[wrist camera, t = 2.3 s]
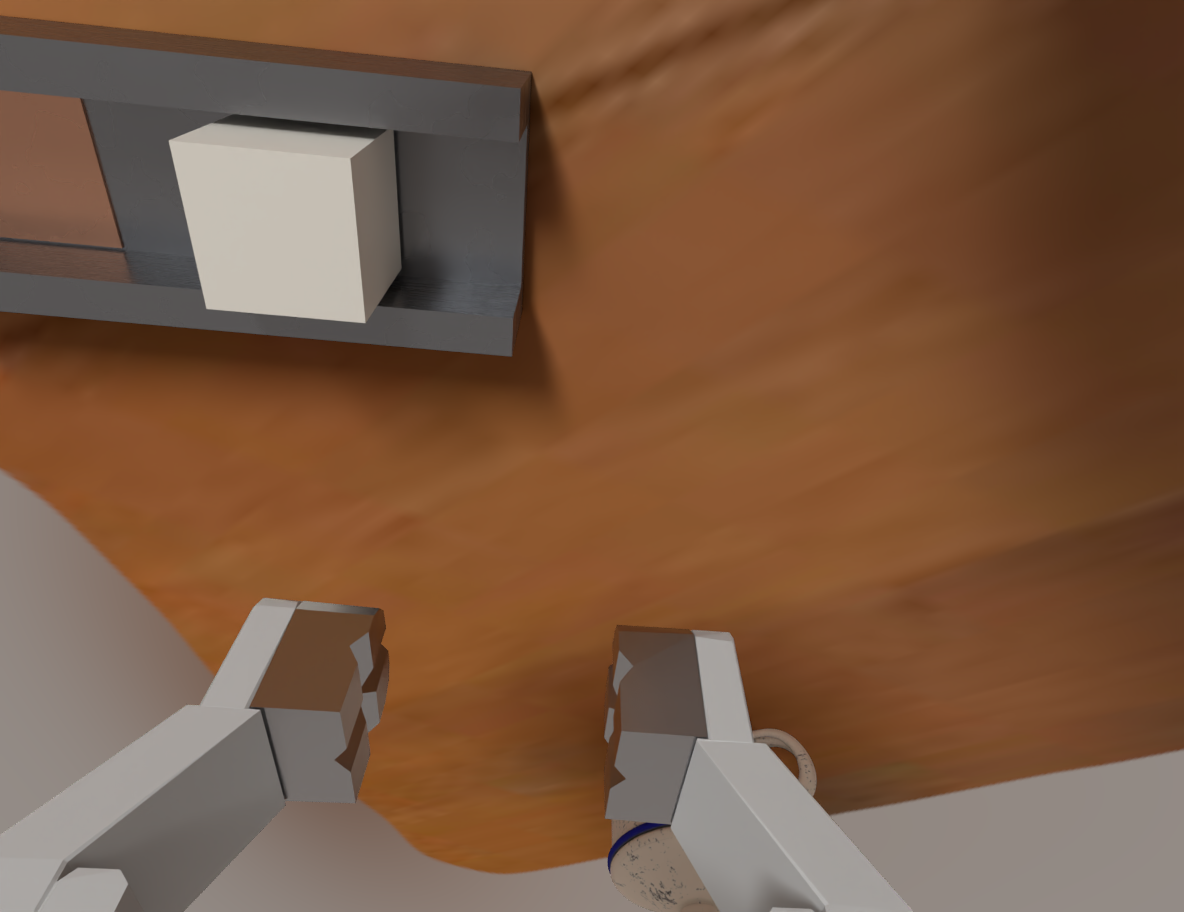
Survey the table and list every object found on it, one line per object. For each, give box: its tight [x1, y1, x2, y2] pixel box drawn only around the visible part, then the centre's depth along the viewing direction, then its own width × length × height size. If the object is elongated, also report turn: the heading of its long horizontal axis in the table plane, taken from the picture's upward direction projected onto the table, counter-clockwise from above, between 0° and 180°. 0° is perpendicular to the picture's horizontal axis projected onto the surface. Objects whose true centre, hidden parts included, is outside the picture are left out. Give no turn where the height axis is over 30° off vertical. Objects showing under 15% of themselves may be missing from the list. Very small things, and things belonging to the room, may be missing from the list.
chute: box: [0, 16, 532, 357], centre depth 25 cm, size 24×9×4 cm, turn 85°
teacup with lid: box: [608, 729, 817, 912], centre depth 40 cm, size 12×9×12 cm
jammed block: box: [169, 114, 402, 323], centre depth 24 cm, size 5×5×5 cm
